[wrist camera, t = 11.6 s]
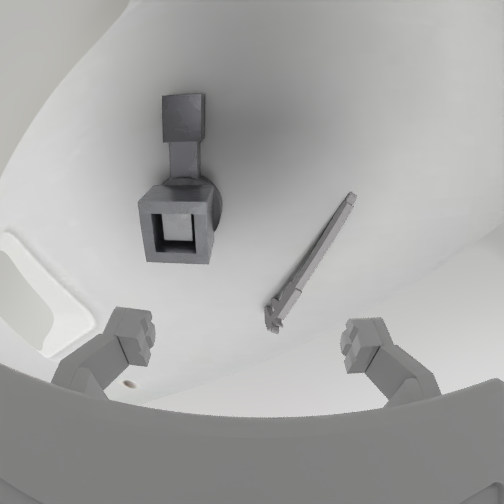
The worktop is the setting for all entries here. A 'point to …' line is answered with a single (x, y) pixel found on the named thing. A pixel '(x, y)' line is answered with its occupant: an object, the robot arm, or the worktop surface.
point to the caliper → (307, 268)
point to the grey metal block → (177, 202)
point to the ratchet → (185, 158)
